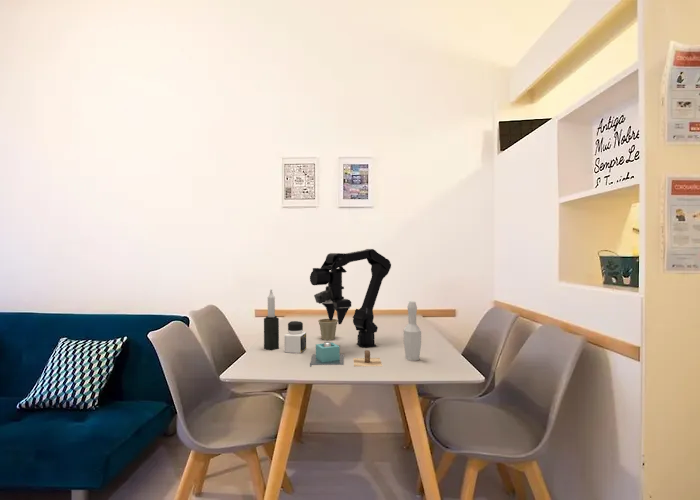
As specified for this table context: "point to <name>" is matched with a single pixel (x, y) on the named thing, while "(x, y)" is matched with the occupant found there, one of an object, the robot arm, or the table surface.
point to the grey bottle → (412, 334)
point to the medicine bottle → (295, 338)
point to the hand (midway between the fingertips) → (335, 322)
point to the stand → (367, 360)
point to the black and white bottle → (271, 326)
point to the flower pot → (328, 328)
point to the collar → (327, 352)
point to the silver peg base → (338, 362)
